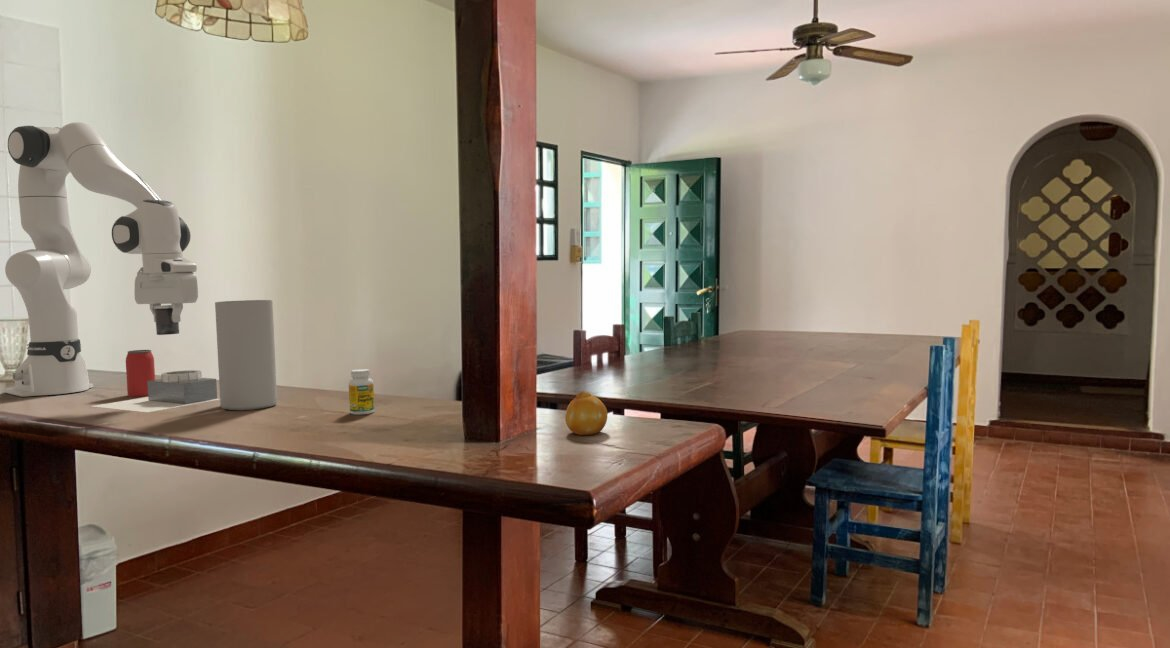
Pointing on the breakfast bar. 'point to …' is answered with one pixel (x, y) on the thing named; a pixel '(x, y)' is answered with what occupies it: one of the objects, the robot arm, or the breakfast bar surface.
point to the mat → (144, 405)
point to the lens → (165, 320)
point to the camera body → (182, 387)
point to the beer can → (139, 372)
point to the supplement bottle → (361, 392)
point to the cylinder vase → (246, 354)
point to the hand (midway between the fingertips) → (167, 322)
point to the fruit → (586, 414)
